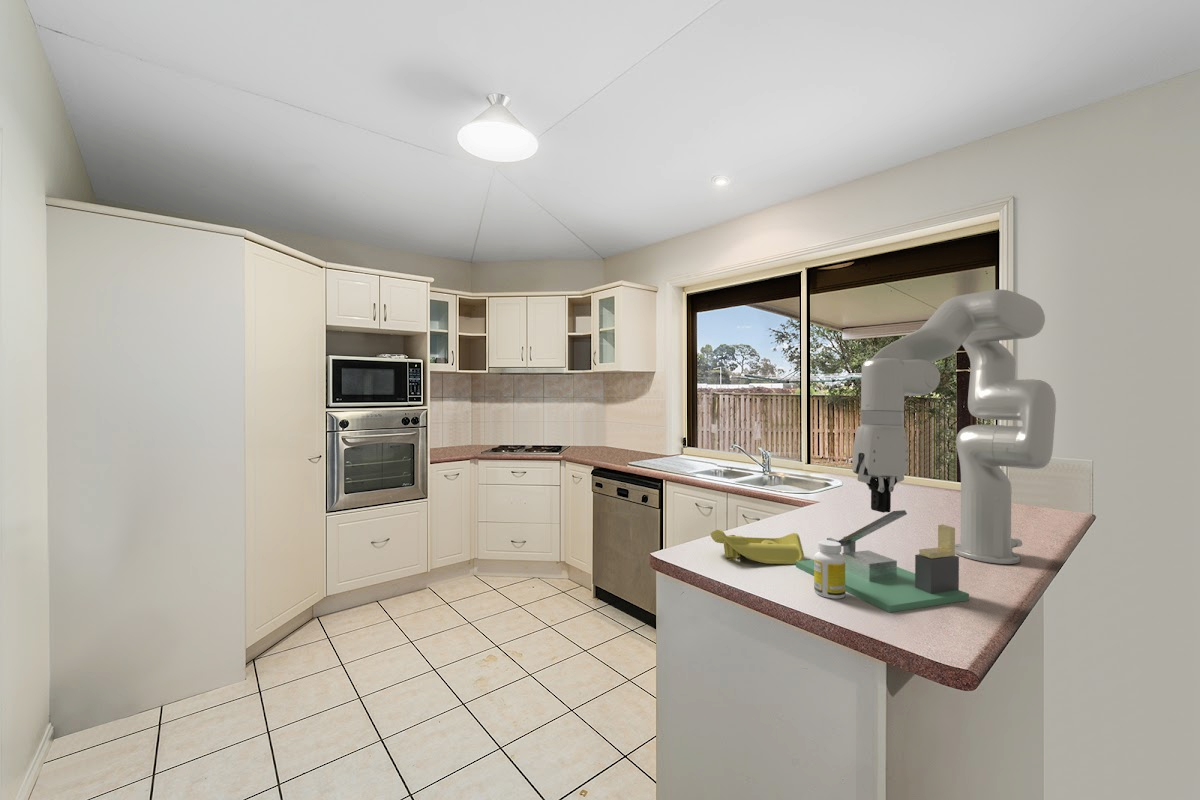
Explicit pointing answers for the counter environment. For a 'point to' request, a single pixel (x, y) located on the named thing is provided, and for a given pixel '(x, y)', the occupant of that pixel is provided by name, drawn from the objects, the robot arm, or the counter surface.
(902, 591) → the board
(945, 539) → the bracket
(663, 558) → the counter surface
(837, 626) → the counter surface
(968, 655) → the counter surface
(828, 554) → the supplement bottle
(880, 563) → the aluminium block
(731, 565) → the counter surface
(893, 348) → the robot arm
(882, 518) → the dark grey flat bar
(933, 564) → the block
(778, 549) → the plastic component
